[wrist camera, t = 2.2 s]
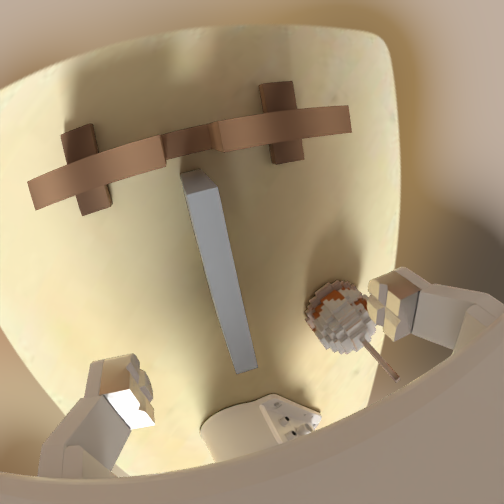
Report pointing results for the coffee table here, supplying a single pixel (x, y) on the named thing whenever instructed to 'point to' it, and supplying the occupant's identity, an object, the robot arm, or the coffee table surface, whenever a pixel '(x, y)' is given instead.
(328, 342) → the decorative ornament
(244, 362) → the grey plate
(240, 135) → the walnut crosspiece
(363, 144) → the coffee table surface
